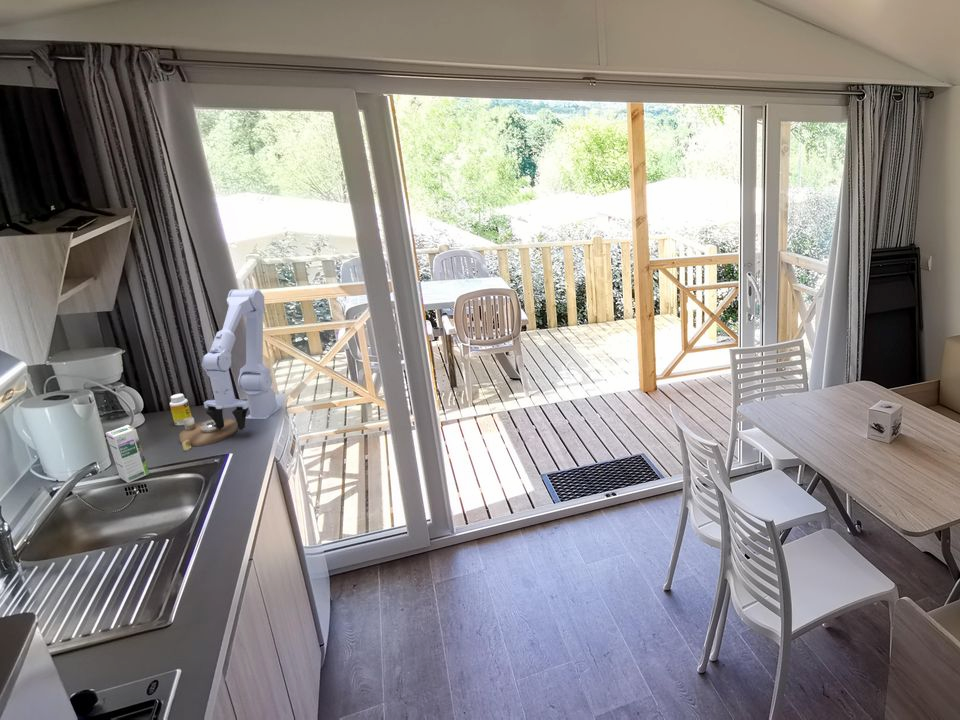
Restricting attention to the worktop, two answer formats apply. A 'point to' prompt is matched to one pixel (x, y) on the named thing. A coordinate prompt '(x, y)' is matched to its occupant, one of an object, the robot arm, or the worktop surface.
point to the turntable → (199, 438)
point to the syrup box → (127, 453)
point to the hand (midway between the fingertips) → (231, 428)
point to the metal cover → (209, 427)
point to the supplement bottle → (179, 408)
